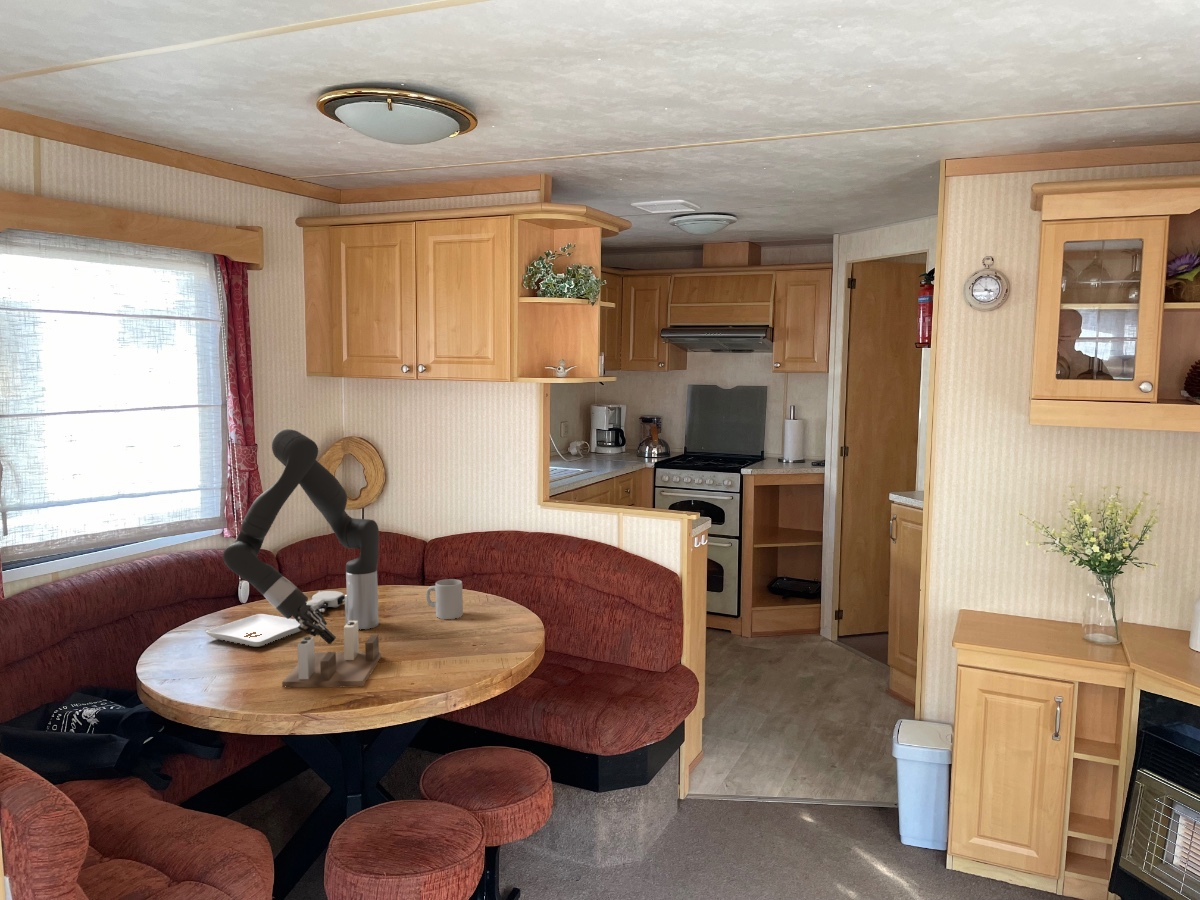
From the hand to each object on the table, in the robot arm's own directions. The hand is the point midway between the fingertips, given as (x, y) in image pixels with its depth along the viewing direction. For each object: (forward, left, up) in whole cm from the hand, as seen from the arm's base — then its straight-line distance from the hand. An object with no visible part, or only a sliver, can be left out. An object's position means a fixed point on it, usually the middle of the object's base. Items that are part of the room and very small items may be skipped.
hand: (333, 641), depth 242 cm
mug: (-6, +49, -6) cm, 50 cm away
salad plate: (-37, +3, -7) cm, 38 cm away
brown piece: (+5, -5, -6) cm, 9 cm away
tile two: (+6, -13, -4) cm, 15 cm away
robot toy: (-45, +32, -6) cm, 55 cm away
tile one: (+4, +3, -4) cm, 7 cm away
